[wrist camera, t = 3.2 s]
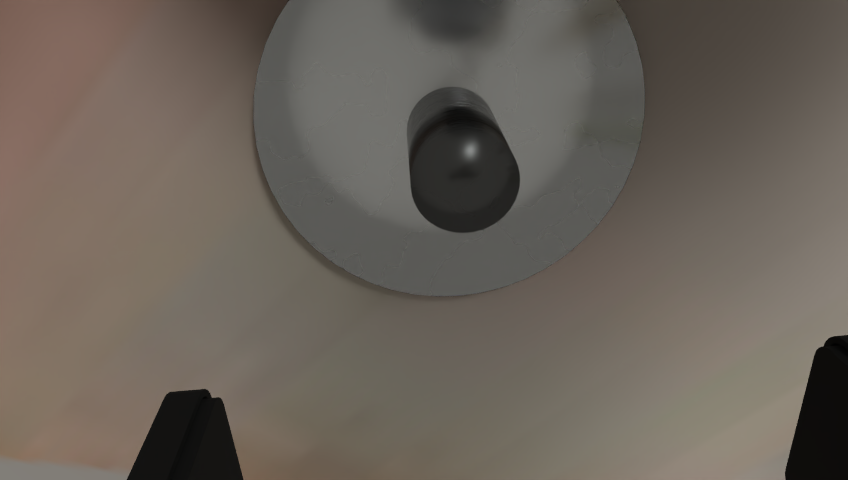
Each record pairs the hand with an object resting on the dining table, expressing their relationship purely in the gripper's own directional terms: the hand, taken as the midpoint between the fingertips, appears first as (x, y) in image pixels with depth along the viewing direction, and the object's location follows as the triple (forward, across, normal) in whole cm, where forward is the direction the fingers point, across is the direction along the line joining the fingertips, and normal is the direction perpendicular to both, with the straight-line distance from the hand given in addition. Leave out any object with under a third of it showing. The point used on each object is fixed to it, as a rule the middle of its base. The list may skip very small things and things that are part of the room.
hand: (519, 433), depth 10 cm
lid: (+16, 0, 0) cm, 16 cm away
